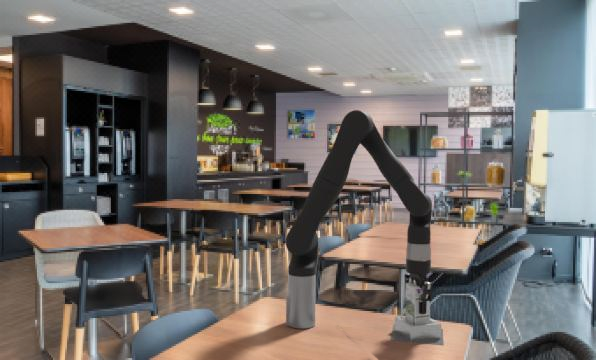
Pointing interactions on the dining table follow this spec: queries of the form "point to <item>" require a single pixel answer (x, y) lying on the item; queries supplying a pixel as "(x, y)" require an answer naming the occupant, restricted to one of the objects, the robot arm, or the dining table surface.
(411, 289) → the syrup box
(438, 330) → the metal sleeve
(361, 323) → the dining table surface
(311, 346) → the dining table surface
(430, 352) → the dining table surface
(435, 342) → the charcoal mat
